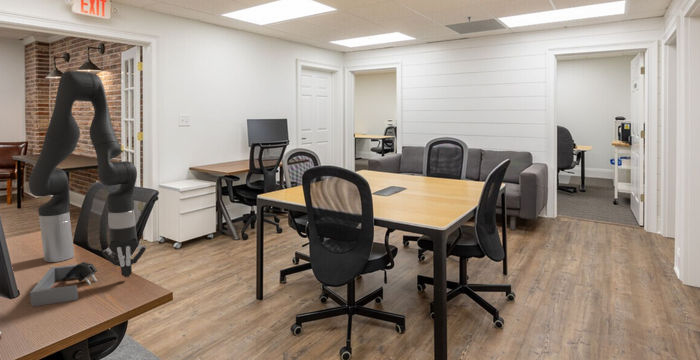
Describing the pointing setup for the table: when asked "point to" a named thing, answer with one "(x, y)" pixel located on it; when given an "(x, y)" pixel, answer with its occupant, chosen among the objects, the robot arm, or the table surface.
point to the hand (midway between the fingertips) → (126, 276)
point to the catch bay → (53, 295)
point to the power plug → (82, 272)
